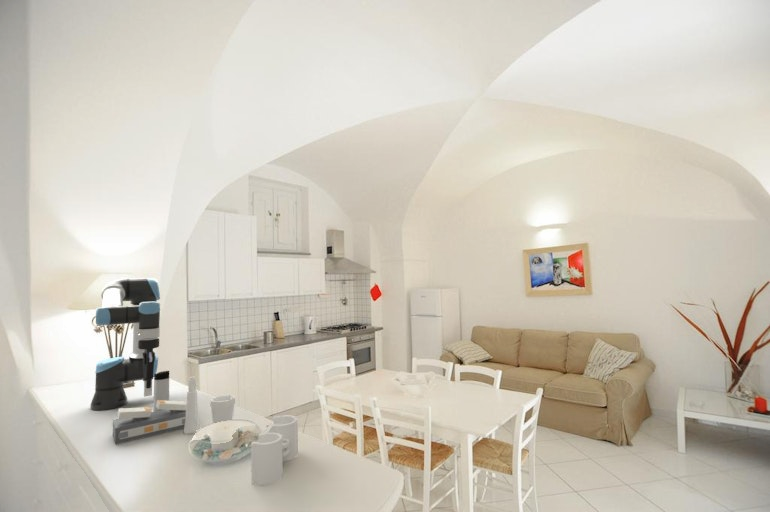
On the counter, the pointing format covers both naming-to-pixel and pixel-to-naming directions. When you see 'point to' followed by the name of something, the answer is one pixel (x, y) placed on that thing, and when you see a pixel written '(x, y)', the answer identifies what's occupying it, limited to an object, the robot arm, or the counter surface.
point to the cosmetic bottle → (191, 408)
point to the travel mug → (161, 387)
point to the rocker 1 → (134, 412)
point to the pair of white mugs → (274, 450)
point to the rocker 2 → (171, 405)
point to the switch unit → (148, 425)
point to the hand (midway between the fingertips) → (147, 395)
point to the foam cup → (222, 408)
